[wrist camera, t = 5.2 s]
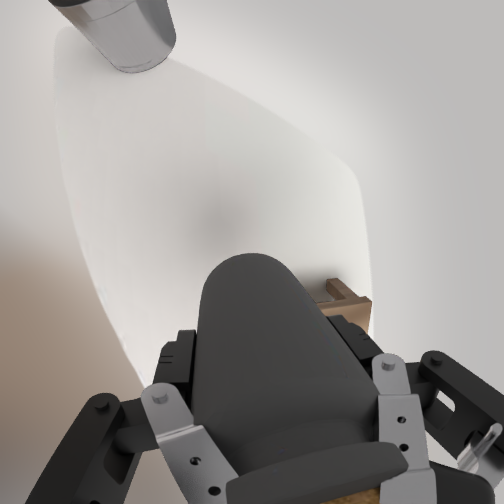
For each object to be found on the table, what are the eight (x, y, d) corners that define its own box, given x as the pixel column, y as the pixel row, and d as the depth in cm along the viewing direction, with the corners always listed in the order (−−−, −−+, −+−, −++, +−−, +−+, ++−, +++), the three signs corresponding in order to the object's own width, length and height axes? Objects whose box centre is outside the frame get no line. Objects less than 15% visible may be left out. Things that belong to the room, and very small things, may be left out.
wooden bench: (237, 284, 35) (244, 318, 26) (340, 275, 36) (372, 301, 28) (244, 370, 39) (250, 412, 30) (332, 357, 40) (354, 393, 31)
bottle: (249, 230, 15) (429, 540, 1) (315, 294, 17) (474, 503, 2) (180, 302, 16) (137, 583, 1) (250, 354, 17) (306, 582, 3)
